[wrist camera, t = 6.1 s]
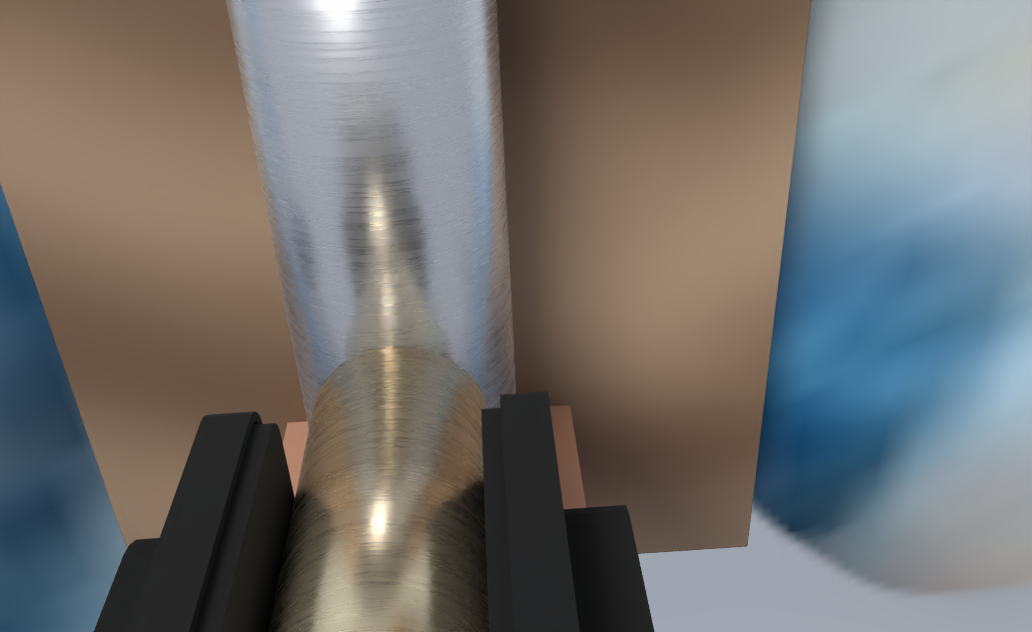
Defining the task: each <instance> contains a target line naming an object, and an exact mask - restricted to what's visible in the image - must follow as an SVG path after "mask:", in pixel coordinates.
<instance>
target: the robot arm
mask: <svg viewBox="0 0 1032 632" xmlns="http://www.w3.org/2000/svg"><path fill="white" fill-rule="evenodd" d="M481 418H482V447H483V476H484V505H485V534H486V563H487V591H488V620H489V632H654V628H653V623H652V619H651V614H650V609H649V604H648V600H647V595H646V590H645V586H644V581H643V576H642V571H641V567H640V562H639V557H638V553H637V548H636V543H635V538H634V534H633V529H632V524H631V520H630V516H629V512H628V509H627V507H626V505H617V506H602V507H588V508H574V509H564V508H563V501H562V493H561V486H560V478H559V470H558V463H557V455H556V448H555V440H554V433H553V425H552V418H551V410H550V402H549V396H548V391H546V392H531V393H516V394H502V395H500V408H487V409H481ZM294 500H295V496H294V492H293V487H292V483H291V478H290V474H289V469H288V464H287V460H286V455H285V451H284V446H283V442H282V437H281V433H280V430H279V427H278V425H277V424H276V423H269V424H263V423H262V420H261V417H260V415H259V414H258V413H257V412H255V411H253V412H238V413H224V414H209V415H205V416H204V417H203V418H202V420H201V422H200V425H199V428H198V430H197V433H196V436H195V439H194V442H193V445H192V447H191V450H190V453H189V456H188V459H187V462H186V464H185V467H184V470H183V473H182V476H181V479H180V481H179V484H178V487H177V490H176V493H175V495H174V498H173V501H172V504H171V507H170V510H169V512H168V515H167V518H166V521H165V524H164V527H163V529H162V532H161V535H160V538H149V539H136V540H135V541H133V542H132V543H131V544H130V545H129V546H128V548H127V550H126V552H125V554H124V556H123V558H122V561H121V563H120V566H119V568H118V571H117V573H116V576H115V579H114V581H113V584H112V586H111V589H110V591H109V594H108V597H107V599H106V602H105V604H104V607H103V609H102V612H101V615H100V617H99V620H98V622H97V625H96V628H95V630H94V632H268V628H269V623H270V619H271V614H272V609H273V604H274V599H275V594H276V589H277V584H278V579H279V574H280V569H281V564H282V559H283V554H284V550H285V545H286V540H287V535H288V530H289V525H290V520H291V515H292V510H293V505H294Z"/></svg>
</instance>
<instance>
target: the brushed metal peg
mask: <svg viewBox="0 0 1032 632" xmlns="http://www.w3.org/2000/svg"><path fill="white" fill-rule="evenodd" d="M226 4H227V9H228V14H229V19H230V25H231V30H232V35H233V40H234V45H235V51H236V56H237V61H238V66H239V71H240V76H241V82H242V87H243V92H244V97H245V102H246V107H247V113H248V118H249V123H250V128H251V133H252V139H253V144H254V149H255V154H256V159H257V164H258V170H259V175H260V180H261V185H262V190H263V196H264V201H265V206H266V211H267V216H268V221H269V227H270V232H271V237H272V242H273V247H274V253H275V258H276V263H277V268H278V273H279V278H280V284H281V289H282V294H283V299H284V304H285V309H286V315H287V320H288V325H289V330H290V335H291V341H292V346H293V351H294V356H295V361H296V366H297V372H298V377H299V382H300V387H301V392H302V398H303V403H304V408H305V413H306V418H307V423H308V429H309V431H308V436H307V441H306V446H305V451H304V456H303V461H302V466H301V471H300V476H299V481H298V485H297V490H296V495H295V500H294V505H293V510H292V515H291V520H290V525H289V530H288V535H287V540H286V545H285V550H284V554H283V559H282V564H281V569H280V574H279V579H278V584H277V589H276V594H275V599H274V604H273V609H272V614H271V619H270V623H269V628H268V632H489V620H488V591H487V563H486V534H485V505H484V476H483V447H482V418H481V409H487V408H500V395H502V394H516V383H515V363H514V343H513V323H512V302H511V282H510V262H509V242H508V222H507V201H506V181H505V161H504V141H503V121H502V100H501V80H500V60H499V40H498V20H497V0H226Z"/></svg>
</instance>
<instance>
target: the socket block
mask: <svg viewBox="0 0 1032 632" xmlns="http://www.w3.org/2000/svg"><path fill="white" fill-rule="evenodd" d="M550 410H551V418H552V425H553V433H554V440H555V448H556V455H557V463H558V470H559V478H560V486H561V493H562V501H563V508H564V509H574V508H586V502H585V496H584V490H583V483H582V477H581V471H580V465H579V458H578V452H577V446H576V440H575V434H574V427H573V421H572V415H571V409H570V405H561V406H550ZM308 431H309V429H308V423H307V422H291V423H287V427H286V431H285V436H284V440H283V446H284V451H285V455H286V460H287V464H288V469H289V474H290V478H291V483H292V487H293V492H294V496H295V495H296V490H297V485H298V481H299V476H300V471H301V466H302V461H303V456H304V451H305V446H306V441H307V436H308Z"/></svg>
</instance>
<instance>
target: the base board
mask: <svg viewBox="0 0 1032 632" xmlns="http://www.w3.org/2000/svg"><path fill="white" fill-rule="evenodd" d="M810 9H811V0H497V20H498V40H499V60H500V80H501V100H502V121H503V141H504V161H505V181H506V201H507V222H508V242H509V262H510V282H511V302H512V323H513V343H514V363H515V383H516V393H531V392H546V391H548V396H549V402H550V406H561V405H570V409H571V415H572V421H573V427H574V434H575V440H576V446H577V452H578V458H579V465H580V471H581V477H582V483H583V490H584V496H585V502H586V508H588V507H602V506H617V505H626V507H627V509H628V512H629V516H630V520H631V524H632V529H633V534H634V538H635V543H636V548H637V553H638V554H641V553H656V552H671V551H686V550H700V549H715V548H730V547H746V546H747V545H748V536H749V527H750V519H751V511H752V502H753V494H754V485H755V477H756V468H757V460H758V451H759V443H760V434H761V426H762V417H763V409H764V400H765V392H766V383H767V375H768V366H769V358H770V349H771V341H772V332H773V324H774V315H775V307H776V298H777V290H778V281H779V273H780V264H781V255H782V247H783V238H784V230H785V221H786V213H787V204H788V196H789V187H790V179H791V170H792V162H793V153H794V145H795V136H796V128H797V119H798V111H799V102H800V94H801V85H802V77H803V68H804V60H805V51H806V43H807V34H808V26H809V17H810ZM0 183H1V186H2V189H3V192H4V195H5V198H6V201H7V203H8V206H9V209H10V212H11V215H12V218H13V221H14V224H15V227H16V229H17V232H18V235H19V238H20V241H21V244H22V247H23V250H24V253H25V255H26V258H27V261H28V264H29V267H30V270H31V273H32V276H33V279H34V281H35V284H36V287H37V290H38V293H39V296H40V299H41V302H42V305H43V307H44V310H45V313H46V316H47V319H48V322H49V325H50V328H51V331H52V333H53V336H54V339H55V342H56V345H57V348H58V351H59V354H60V357H61V359H62V362H63V365H64V368H65V371H66V374H67V377H68V380H69V383H70V385H71V388H72V391H73V394H74V397H75V400H76V403H77V406H78V409H79V411H80V414H81V417H82V420H83V423H84V426H85V429H86V432H87V435H88V437H89V440H90V443H91V446H92V449H93V452H94V455H95V458H96V461H97V463H98V466H99V469H100V472H101V475H102V478H103V481H104V484H105V487H106V489H107V492H108V495H109V498H110V501H111V504H112V507H113V510H114V513H115V515H116V518H117V521H118V524H119V527H120V530H121V533H122V536H123V539H124V541H125V544H126V547H127V548H128V546H129V545H130V544H131V543H132V542H133V541H135V540H136V539H149V538H160V535H161V532H162V529H163V527H164V524H165V521H166V518H167V515H168V512H169V510H170V507H171V504H172V501H173V498H174V495H175V493H176V490H177V487H178V484H179V481H180V479H181V476H182V473H183V470H184V467H185V464H186V462H187V459H188V456H189V453H190V450H191V447H192V445H193V442H194V439H195V436H196V433H197V430H198V428H199V425H200V422H201V420H202V418H203V417H204V416H205V415H209V414H224V413H238V412H253V411H255V412H257V413H258V414H259V415H260V417H261V420H262V423H263V424H269V423H276V424H277V425H278V427H279V430H280V433H281V437H282V442H283V440H284V436H285V431H286V427H287V423H291V422H307V418H306V413H305V408H304V403H303V398H302V392H301V387H300V382H299V377H298V372H297V366H296V361H295V356H294V351H293V346H292V341H291V335H290V330H289V325H288V320H287V315H286V309H285V304H284V299H283V294H282V289H281V284H280V278H279V273H278V268H277V263H276V258H275V253H274V247H273V242H272V237H271V232H270V227H269V221H268V216H267V211H266V206H265V201H264V196H263V190H262V185H261V180H260V175H259V170H258V164H257V159H256V154H255V149H254V144H253V139H252V133H251V128H250V123H249V118H248V113H247V107H246V102H245V97H244V92H243V87H242V82H241V76H240V71H239V66H238V61H237V56H236V51H235V45H234V40H233V35H232V30H231V25H230V19H229V14H228V9H227V4H226V0H0Z"/></svg>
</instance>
